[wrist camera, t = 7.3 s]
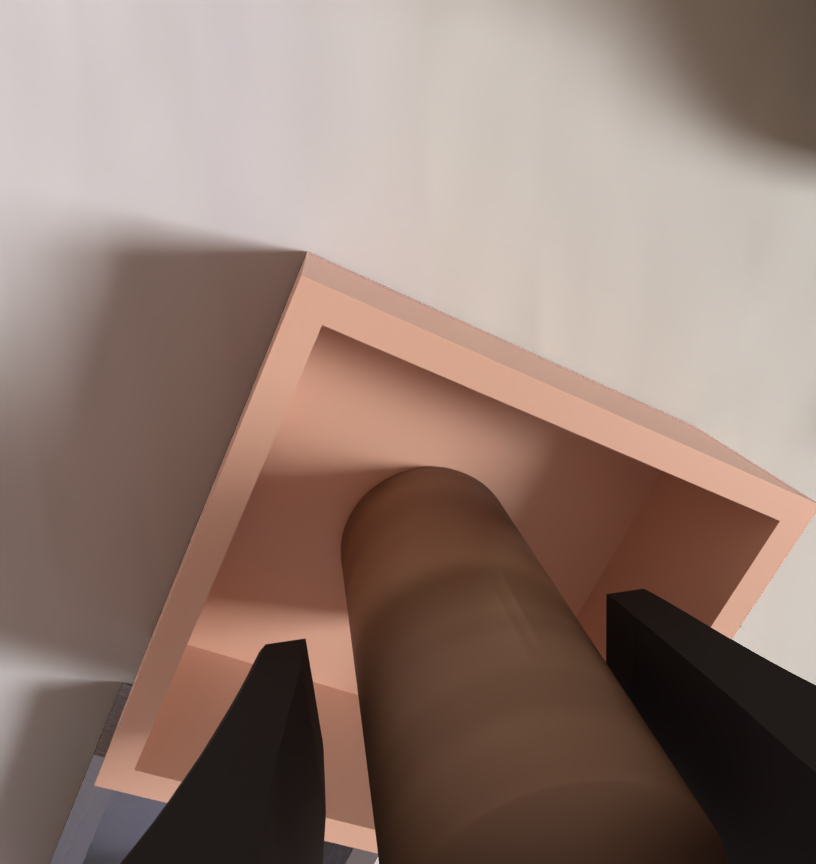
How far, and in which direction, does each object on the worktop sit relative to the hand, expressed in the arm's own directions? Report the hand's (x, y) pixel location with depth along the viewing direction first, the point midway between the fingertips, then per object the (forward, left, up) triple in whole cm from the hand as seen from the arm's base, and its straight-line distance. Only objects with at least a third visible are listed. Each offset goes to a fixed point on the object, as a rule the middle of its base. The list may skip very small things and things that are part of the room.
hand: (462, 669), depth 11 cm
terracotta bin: (0, 0, -5) cm, 5 cm away
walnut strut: (0, 0, -4) cm, 4 cm away
